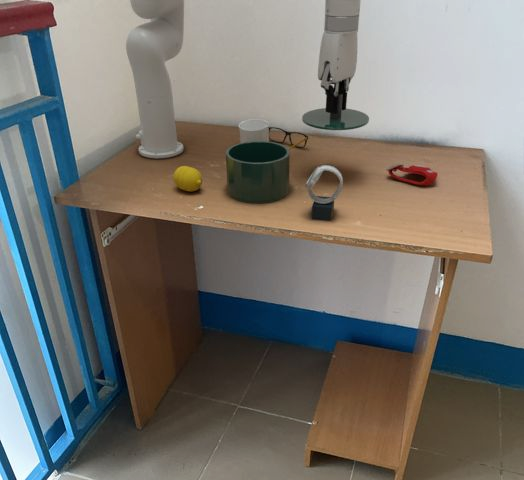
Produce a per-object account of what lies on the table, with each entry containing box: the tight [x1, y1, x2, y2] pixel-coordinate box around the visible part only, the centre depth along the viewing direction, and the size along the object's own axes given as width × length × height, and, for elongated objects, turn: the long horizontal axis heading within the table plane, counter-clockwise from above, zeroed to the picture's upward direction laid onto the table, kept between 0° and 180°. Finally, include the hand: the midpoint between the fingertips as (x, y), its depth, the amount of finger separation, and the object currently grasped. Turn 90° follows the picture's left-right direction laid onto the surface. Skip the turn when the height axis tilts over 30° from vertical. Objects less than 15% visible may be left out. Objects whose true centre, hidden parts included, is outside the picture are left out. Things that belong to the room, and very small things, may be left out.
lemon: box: [173, 165, 203, 193], centre depth 137 cm, size 9×6×6 cm, turn 52°
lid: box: [301, 92, 370, 131], centre depth 135 cm, size 16×16×7 cm
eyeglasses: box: [269, 126, 309, 150], centre depth 158 cm, size 14×14×4 cm
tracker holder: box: [385, 163, 438, 187], centre depth 141 cm, size 12×4×10 cm
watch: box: [305, 164, 344, 222], centre depth 124 cm, size 6×8×11 cm
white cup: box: [238, 118, 270, 143], centre depth 149 cm, size 8×8×10 cm
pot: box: [225, 141, 291, 204], centre depth 135 cm, size 15×15×10 cm
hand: (335, 110), depth 135 cm, fingers closed on lid, 2 cm apart
